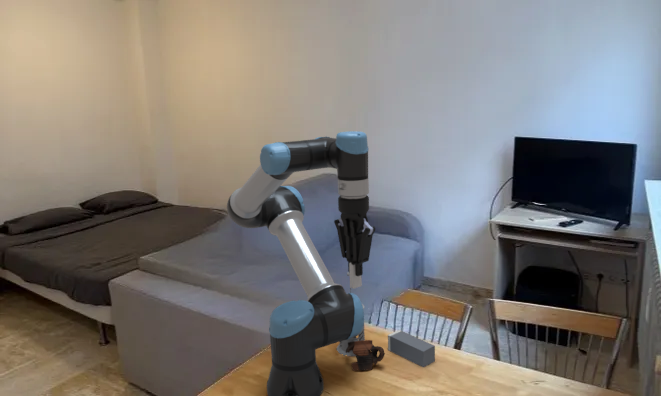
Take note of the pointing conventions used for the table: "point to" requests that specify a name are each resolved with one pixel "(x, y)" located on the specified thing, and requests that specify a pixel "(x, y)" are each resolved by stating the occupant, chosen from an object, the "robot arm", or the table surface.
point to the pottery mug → (365, 354)
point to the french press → (350, 339)
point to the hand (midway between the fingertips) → (355, 286)
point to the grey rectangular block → (411, 348)
